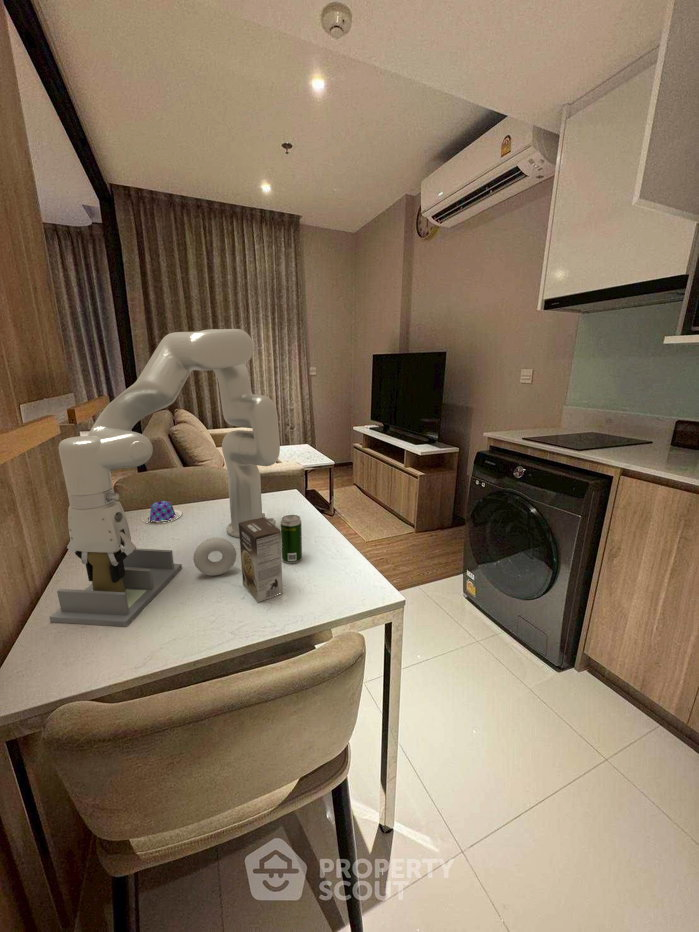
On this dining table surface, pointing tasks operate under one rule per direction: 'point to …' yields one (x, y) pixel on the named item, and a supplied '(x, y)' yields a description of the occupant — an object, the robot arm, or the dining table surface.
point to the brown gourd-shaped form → (103, 573)
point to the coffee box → (261, 558)
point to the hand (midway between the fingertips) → (107, 577)
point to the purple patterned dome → (163, 511)
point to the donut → (211, 546)
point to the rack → (141, 582)
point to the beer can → (291, 539)
